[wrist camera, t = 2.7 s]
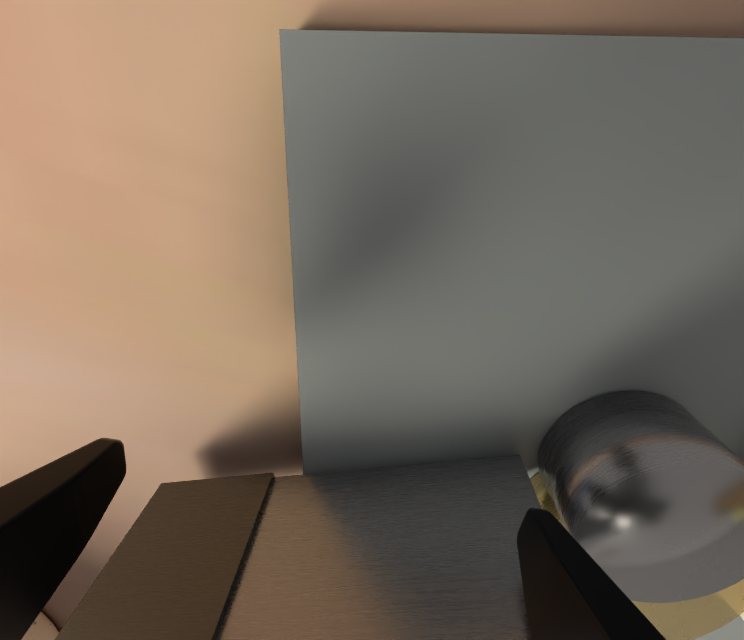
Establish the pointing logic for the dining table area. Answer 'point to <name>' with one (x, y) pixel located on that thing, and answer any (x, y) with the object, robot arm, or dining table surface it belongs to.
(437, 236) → the level stand
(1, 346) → the dining table surface
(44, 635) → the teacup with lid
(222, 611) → the cam capstan
